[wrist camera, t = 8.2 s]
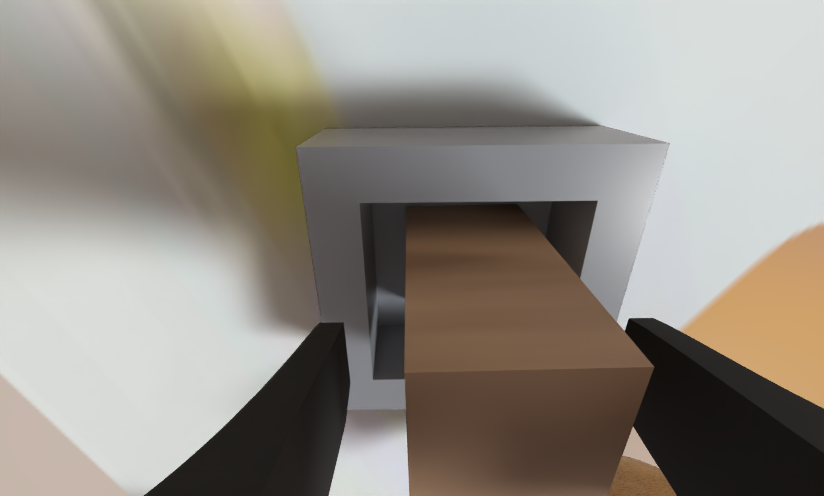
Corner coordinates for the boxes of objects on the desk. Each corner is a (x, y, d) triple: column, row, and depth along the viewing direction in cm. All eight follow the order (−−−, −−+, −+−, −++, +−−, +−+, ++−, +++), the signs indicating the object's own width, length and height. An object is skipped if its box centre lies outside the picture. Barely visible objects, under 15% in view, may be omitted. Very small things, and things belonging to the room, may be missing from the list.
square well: (555, 343, 16) (591, 406, 13) (348, 345, 16) (334, 410, 13) (602, 125, 12) (670, 143, 9) (324, 128, 12) (295, 147, 9)
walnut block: (506, 296, 15) (602, 510, 7) (409, 299, 15) (410, 515, 7) (517, 203, 13) (653, 366, 6) (406, 206, 13) (404, 372, 6)
